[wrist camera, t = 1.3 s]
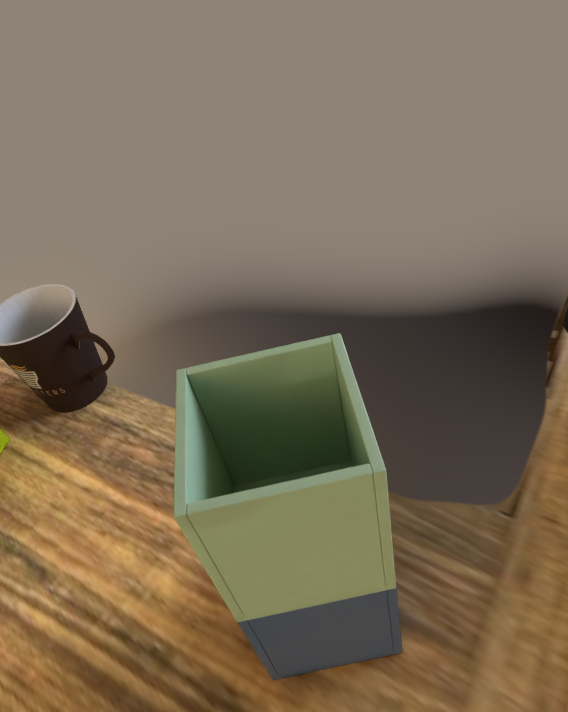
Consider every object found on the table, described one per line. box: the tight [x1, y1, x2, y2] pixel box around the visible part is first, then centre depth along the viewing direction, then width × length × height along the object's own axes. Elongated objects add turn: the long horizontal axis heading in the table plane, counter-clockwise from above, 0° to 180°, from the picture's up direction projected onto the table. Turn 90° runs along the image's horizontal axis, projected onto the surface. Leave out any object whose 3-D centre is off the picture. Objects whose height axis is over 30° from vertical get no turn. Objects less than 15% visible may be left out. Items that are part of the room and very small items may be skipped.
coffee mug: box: [0, 284, 115, 412], centre depth 51 cm, size 12×9×10 cm
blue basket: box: [238, 587, 402, 680], centre depth 33 cm, size 8×8×9 cm
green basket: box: [174, 333, 396, 622], centre depth 26 cm, size 8×8×10 cm
